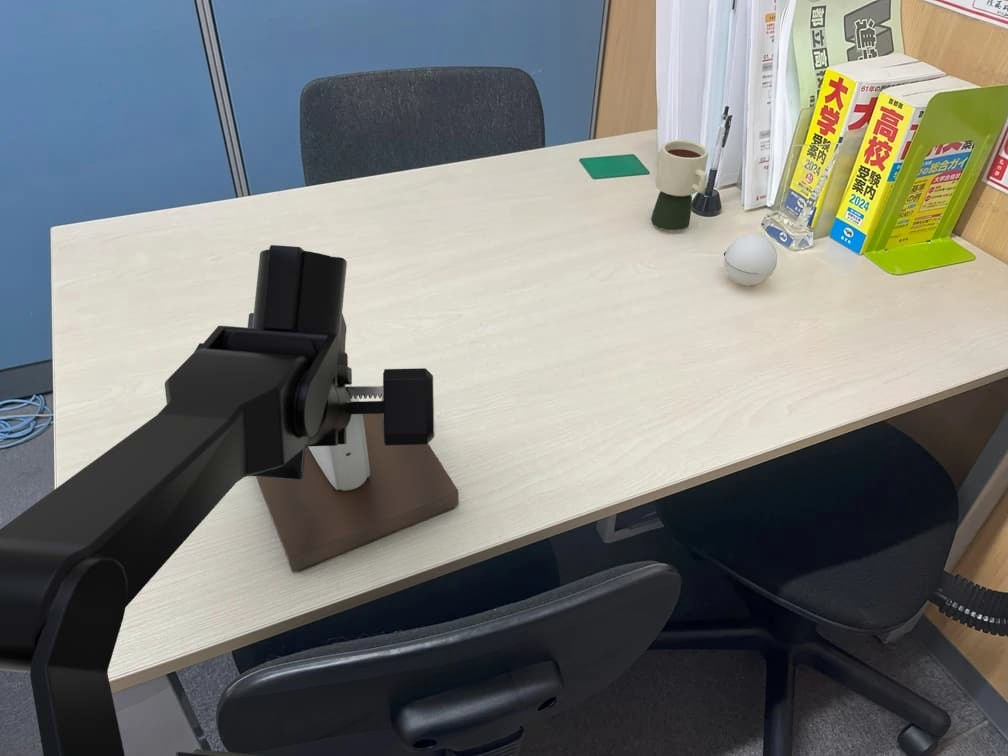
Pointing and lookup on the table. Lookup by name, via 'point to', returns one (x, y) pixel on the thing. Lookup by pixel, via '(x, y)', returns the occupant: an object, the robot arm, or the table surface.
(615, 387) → the table surface
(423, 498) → the walnut stand
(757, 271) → the seamed sphere
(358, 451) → the photo printer
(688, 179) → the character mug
